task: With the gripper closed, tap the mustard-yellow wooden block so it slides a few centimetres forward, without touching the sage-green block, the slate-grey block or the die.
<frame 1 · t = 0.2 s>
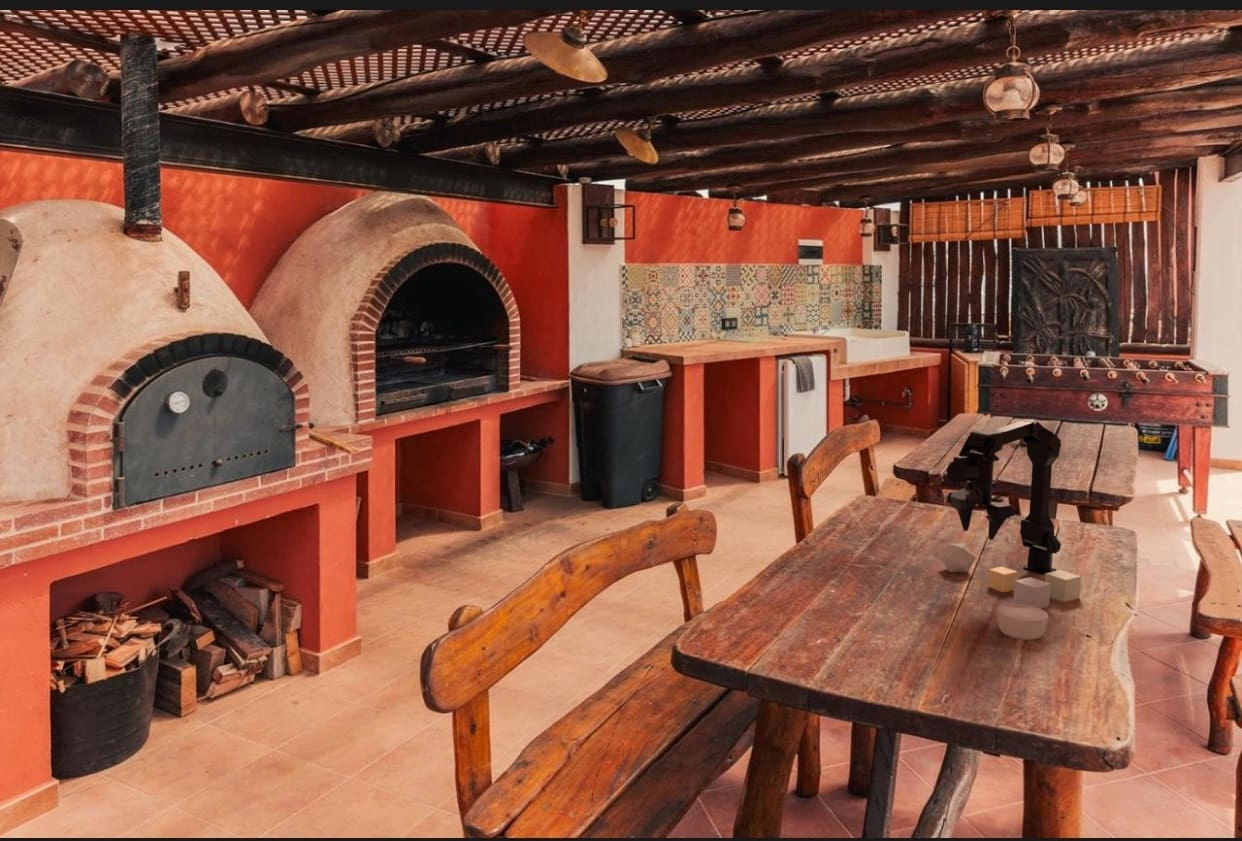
hand: (978, 535, 243), 14 cm above the table, tool pointing down, fingers open, 9 cm apart
ramekin: (1021, 633, 214), on the table
mustard block: (1002, 588, 244), on the table
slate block: (1031, 604, 232), on the table
sage block: (1061, 596, 237), on the table
die: (956, 571, 258), on the table
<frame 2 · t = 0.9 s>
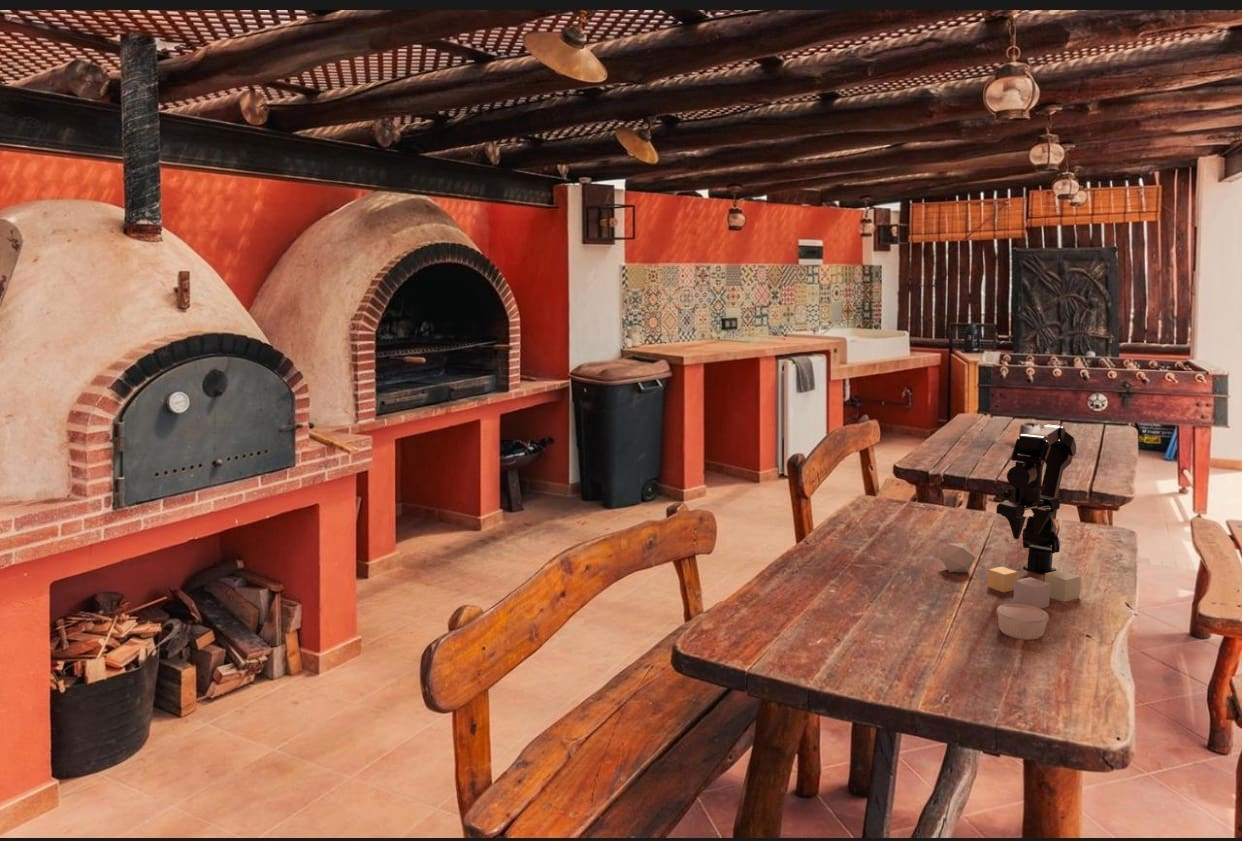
hand: (1026, 536, 246), 13 cm above the table, tool pointing down, fingers open, 8 cm apart
nothing on the table moved.
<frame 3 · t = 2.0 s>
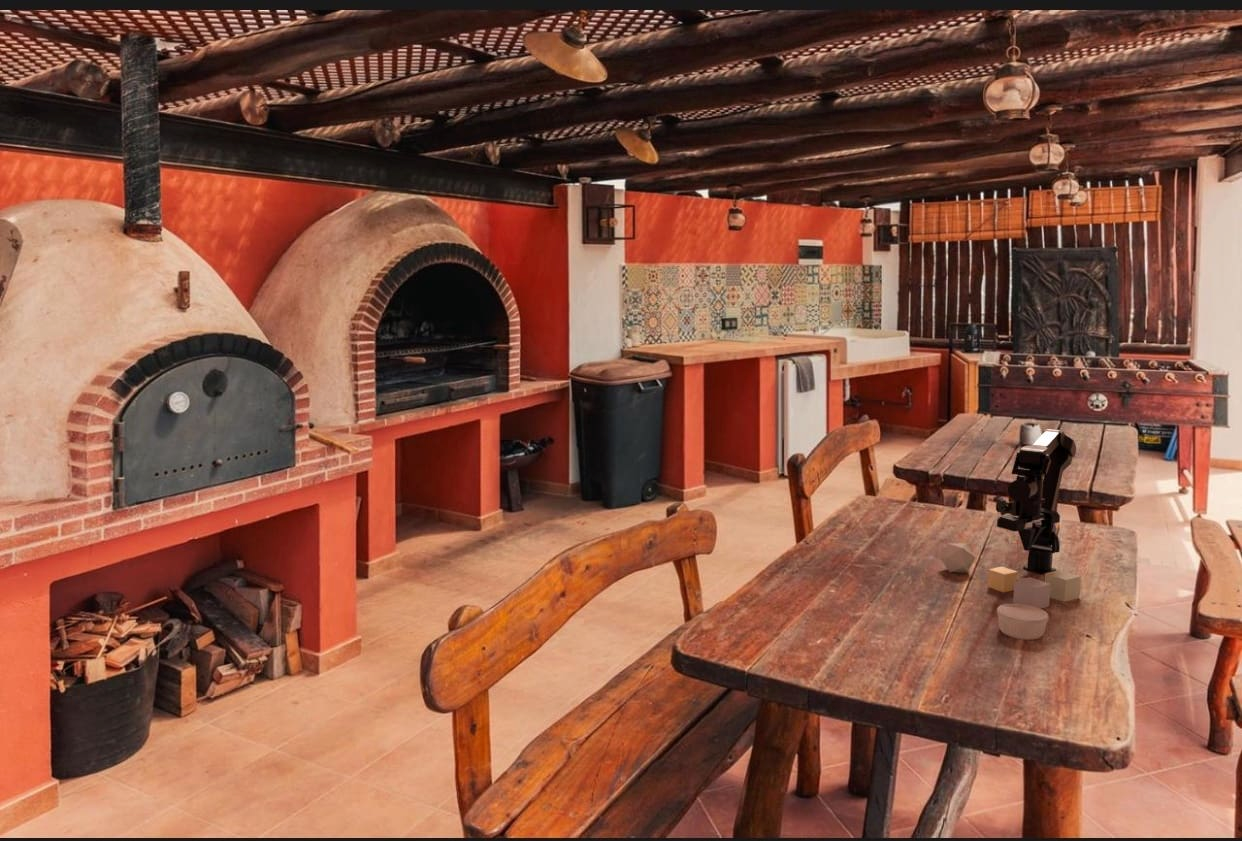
hand: (1026, 550, 247), 9 cm above the table, tool pointing down, fingers closed
nothing on the table moved.
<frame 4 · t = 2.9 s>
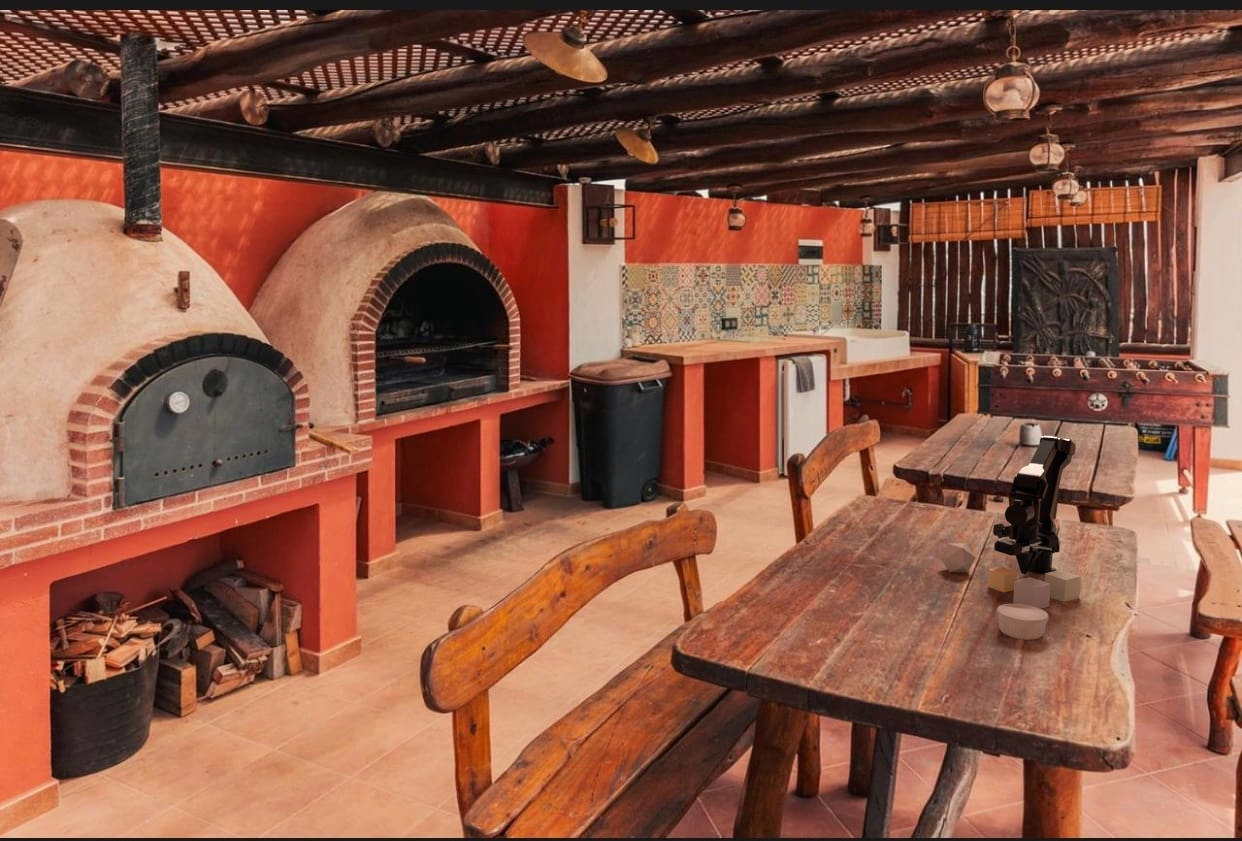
hand: (1023, 573, 248), 3 cm above the table, tool pointing down, fingers closed
nothing on the table moved.
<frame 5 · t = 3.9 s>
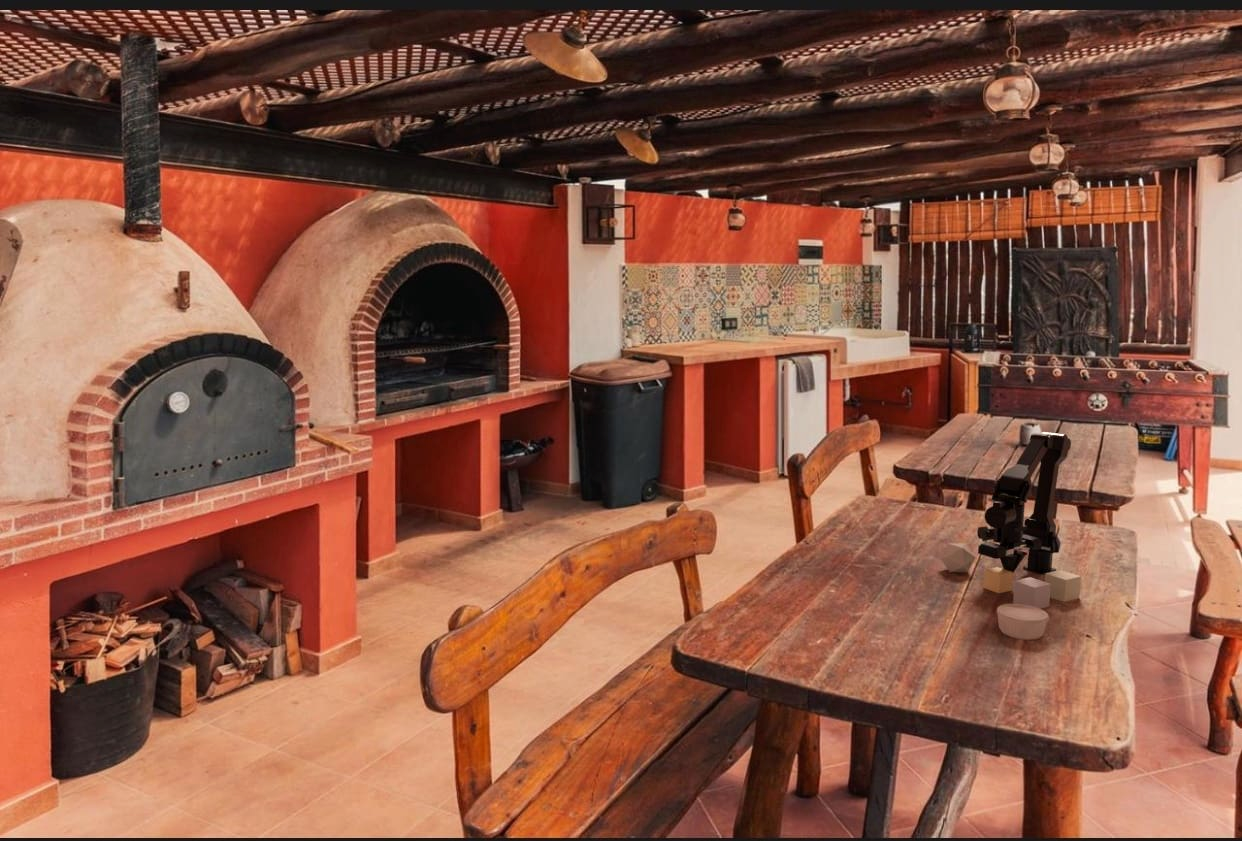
hand: (1008, 577, 245), 3 cm above the table, tool pointing down, fingers closed
mustard block: (997, 589, 243), on the table, touching gripper
everything else where it was.
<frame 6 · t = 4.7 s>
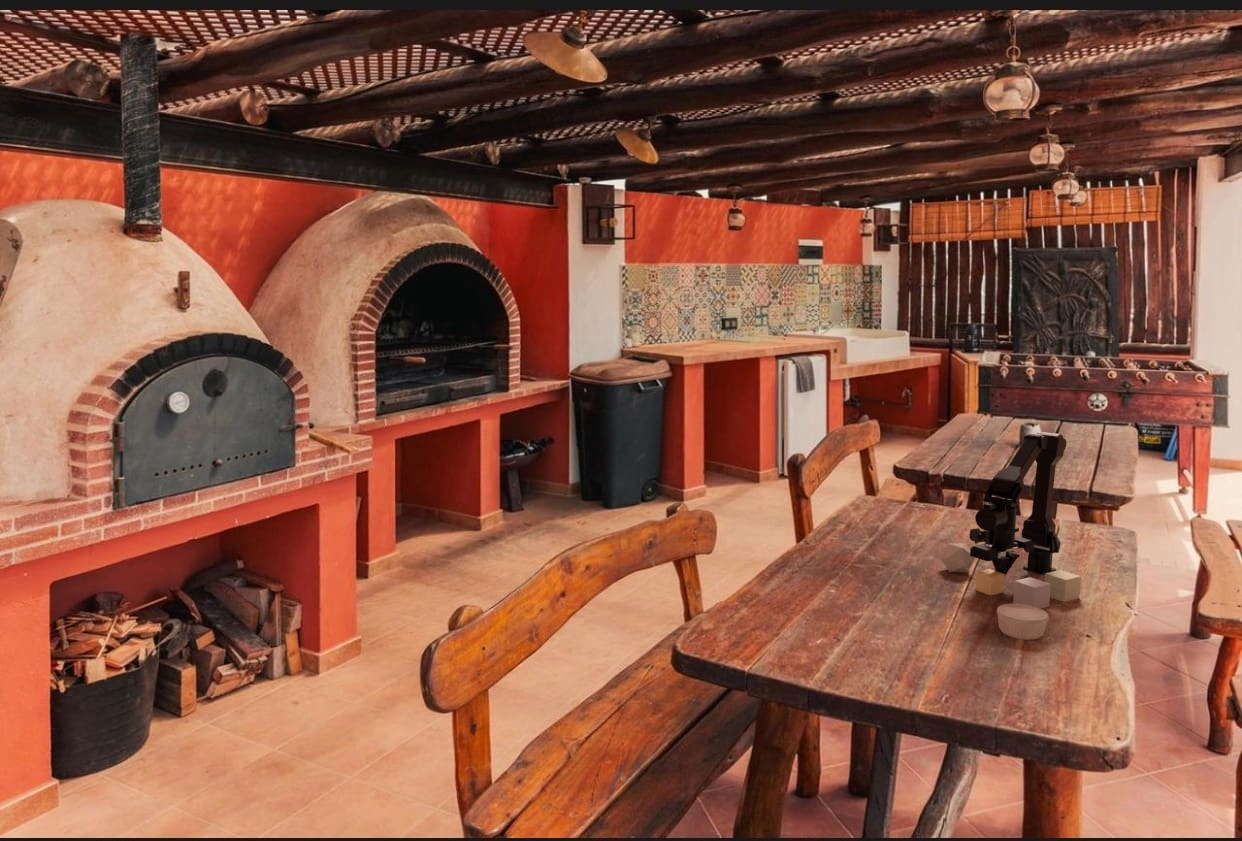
hand: (1000, 579, 243), 3 cm above the table, tool pointing down, fingers closed
mustard block: (989, 591, 242), on the table, touching gripper
everything else where it was.
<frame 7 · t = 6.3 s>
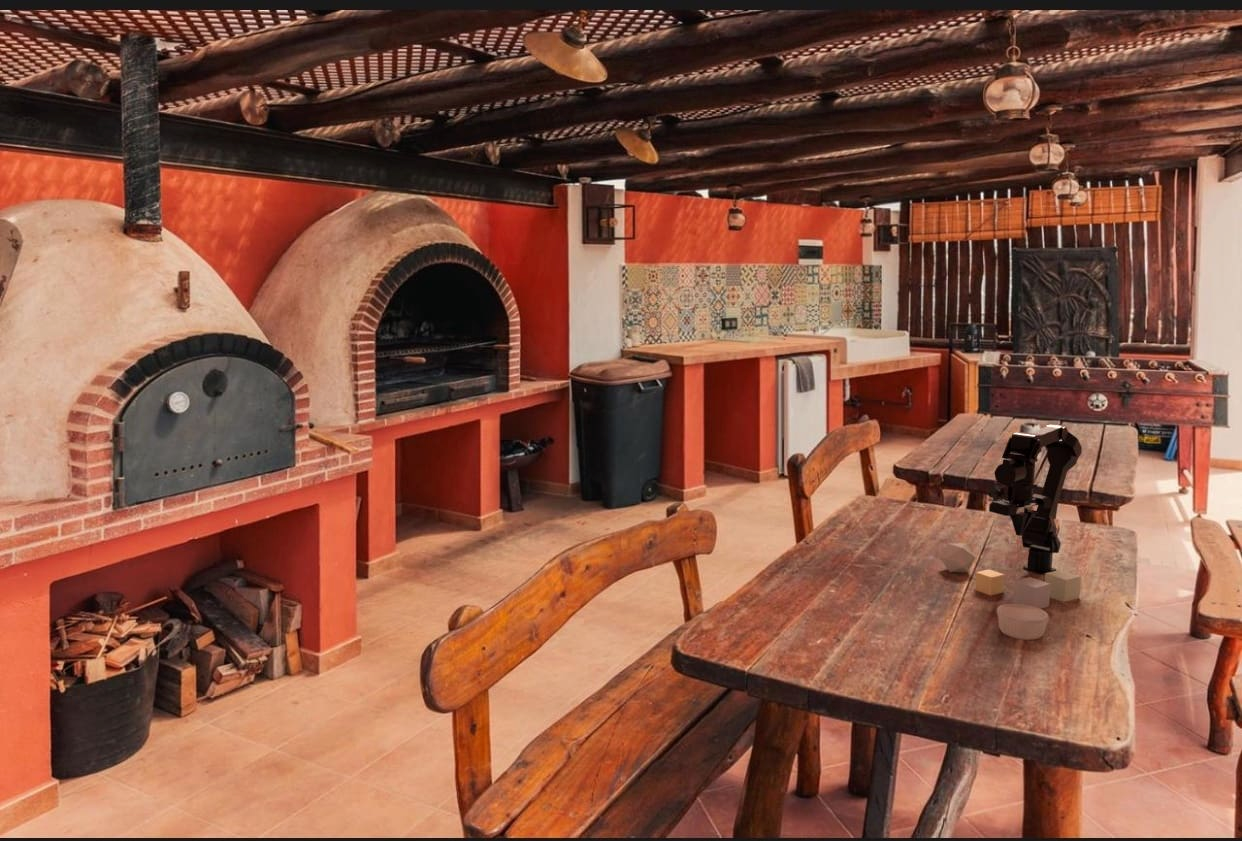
hand: (1018, 535, 248), 13 cm above the table, tool pointing down, fingers closed
mustard block: (989, 591, 242), on the table
everything else where it was.
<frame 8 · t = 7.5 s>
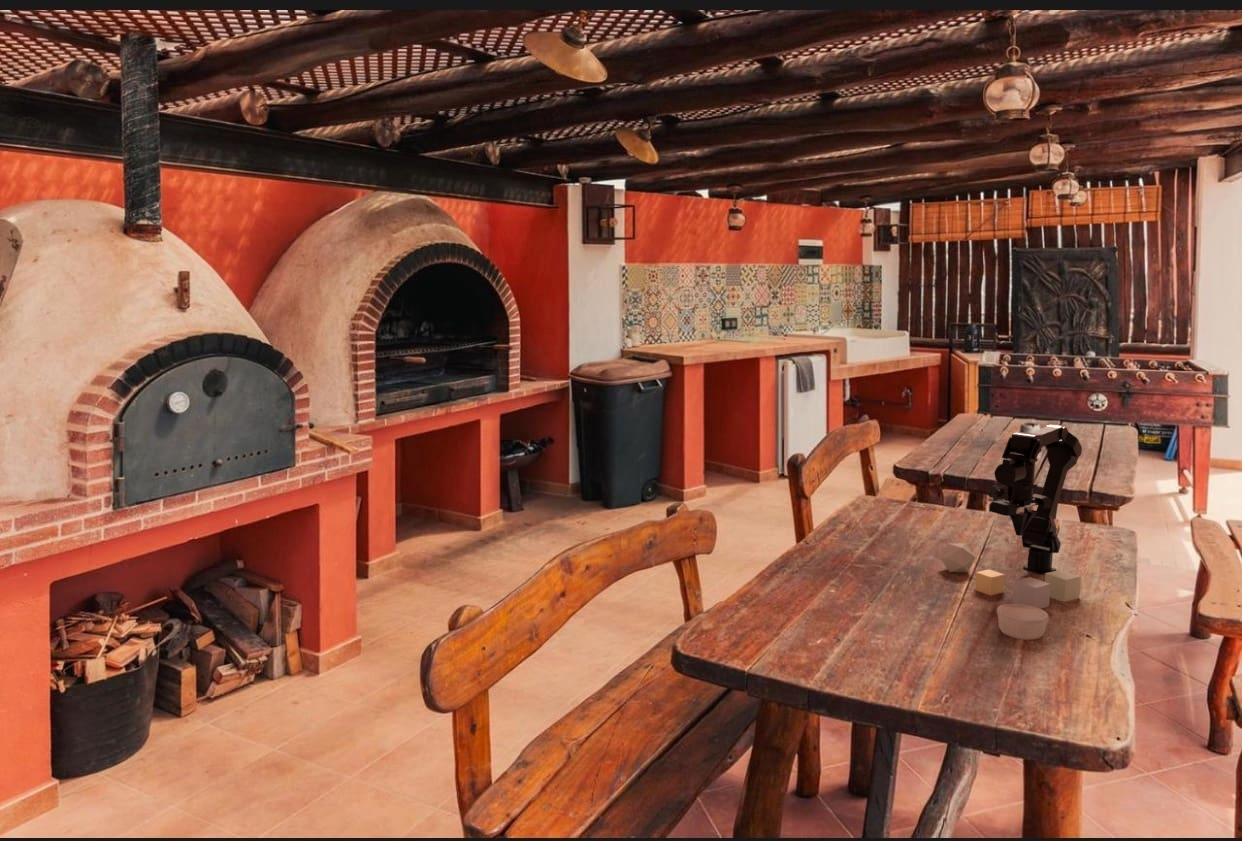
hand: (1018, 535, 248), 13 cm above the table, tool pointing down, fingers closed
nothing on the table moved.
at the end: mustard block moved 4.9 cm from its start; sage block moved 0.1 cm from its start; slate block moved 0.1 cm from its start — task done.
